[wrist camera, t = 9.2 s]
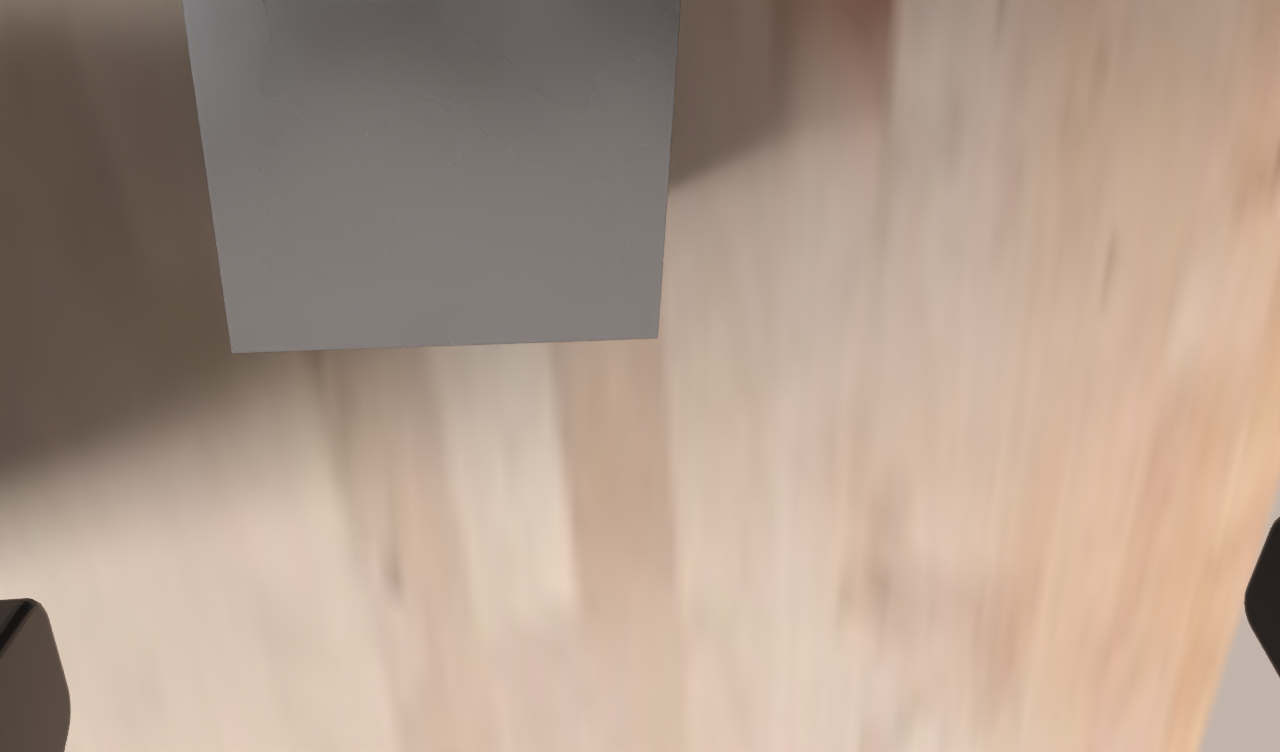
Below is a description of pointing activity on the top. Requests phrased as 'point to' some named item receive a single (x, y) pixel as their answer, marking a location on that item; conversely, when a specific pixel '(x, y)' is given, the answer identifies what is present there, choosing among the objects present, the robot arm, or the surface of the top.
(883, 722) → the top surface
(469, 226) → the silver disc stand
